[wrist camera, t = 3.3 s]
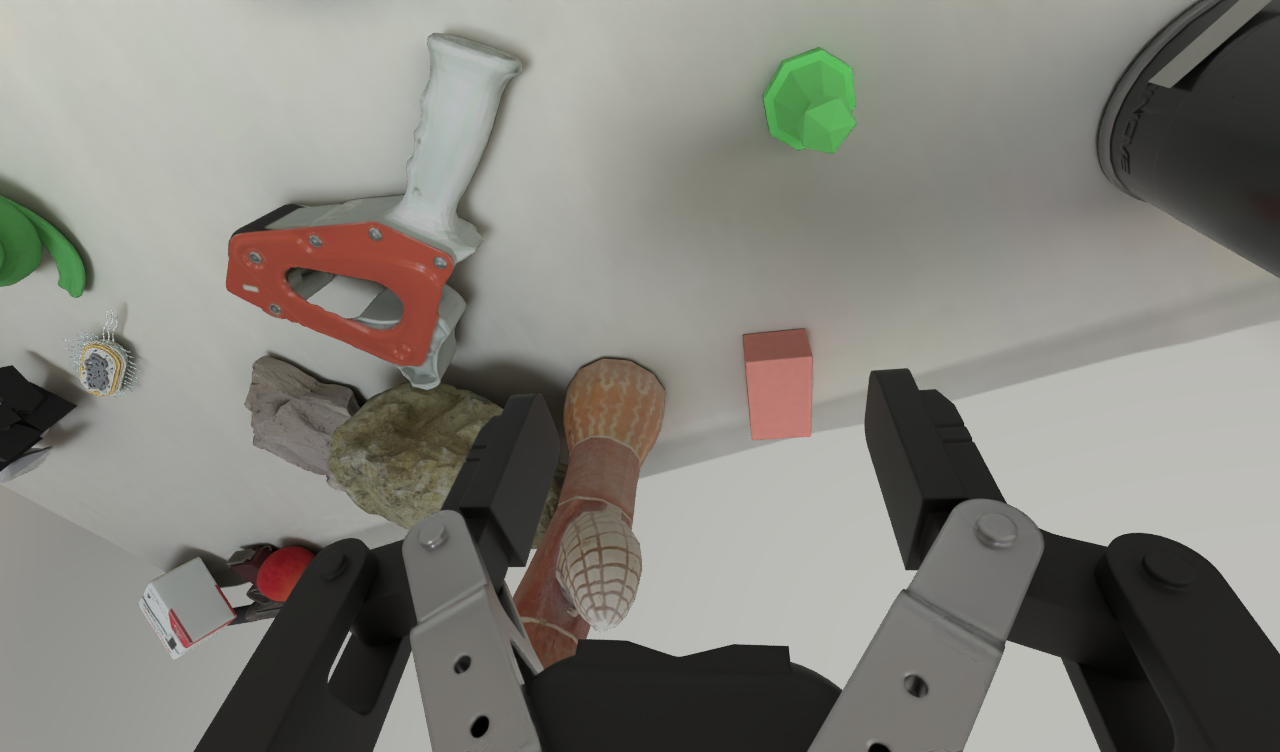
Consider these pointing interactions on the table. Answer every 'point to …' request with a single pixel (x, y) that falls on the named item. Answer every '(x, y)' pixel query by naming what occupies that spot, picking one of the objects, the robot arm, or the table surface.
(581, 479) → the plant stem model
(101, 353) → the bacterium model
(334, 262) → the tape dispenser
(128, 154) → the table surface
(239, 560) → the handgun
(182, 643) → the ink box
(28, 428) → the toy
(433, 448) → the rock
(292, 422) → the stone
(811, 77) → the game piece
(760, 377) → the eraser
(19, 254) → the toy
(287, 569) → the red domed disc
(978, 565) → the robot arm
